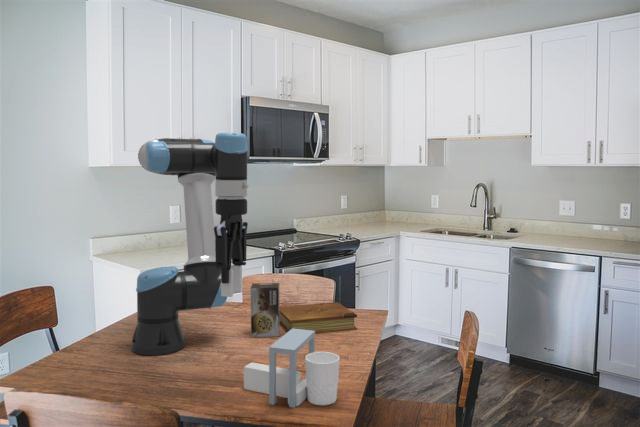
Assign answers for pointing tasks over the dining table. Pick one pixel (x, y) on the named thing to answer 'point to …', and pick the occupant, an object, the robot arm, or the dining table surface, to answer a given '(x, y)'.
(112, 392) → the dining table surface
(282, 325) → the diary
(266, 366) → the white l-shaped block
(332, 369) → the white cup
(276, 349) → the bridge
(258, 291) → the food box
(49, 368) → the dining table surface
